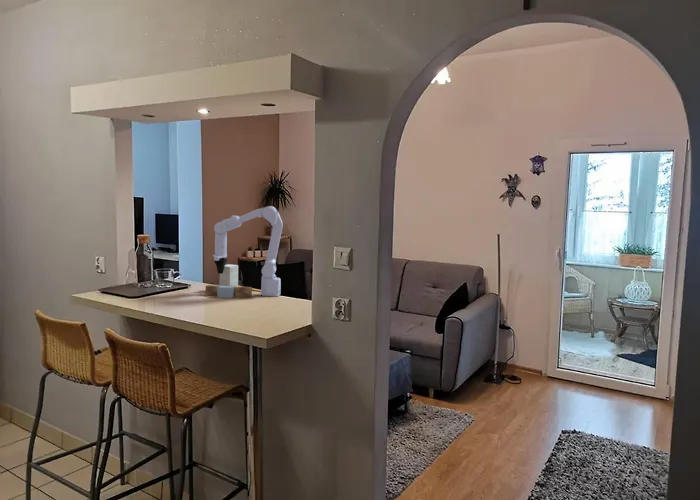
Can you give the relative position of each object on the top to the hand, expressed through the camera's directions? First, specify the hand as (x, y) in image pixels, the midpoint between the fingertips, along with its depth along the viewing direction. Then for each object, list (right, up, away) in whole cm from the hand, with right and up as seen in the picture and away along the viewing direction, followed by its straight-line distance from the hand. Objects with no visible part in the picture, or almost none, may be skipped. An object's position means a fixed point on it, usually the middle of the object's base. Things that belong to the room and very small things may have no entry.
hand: (220, 273), depth 268 cm
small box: (+2, -9, +9) cm, 13 cm away
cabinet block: (+5, -11, -8) cm, 14 cm away
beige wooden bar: (+5, -11, -5) cm, 13 cm away
